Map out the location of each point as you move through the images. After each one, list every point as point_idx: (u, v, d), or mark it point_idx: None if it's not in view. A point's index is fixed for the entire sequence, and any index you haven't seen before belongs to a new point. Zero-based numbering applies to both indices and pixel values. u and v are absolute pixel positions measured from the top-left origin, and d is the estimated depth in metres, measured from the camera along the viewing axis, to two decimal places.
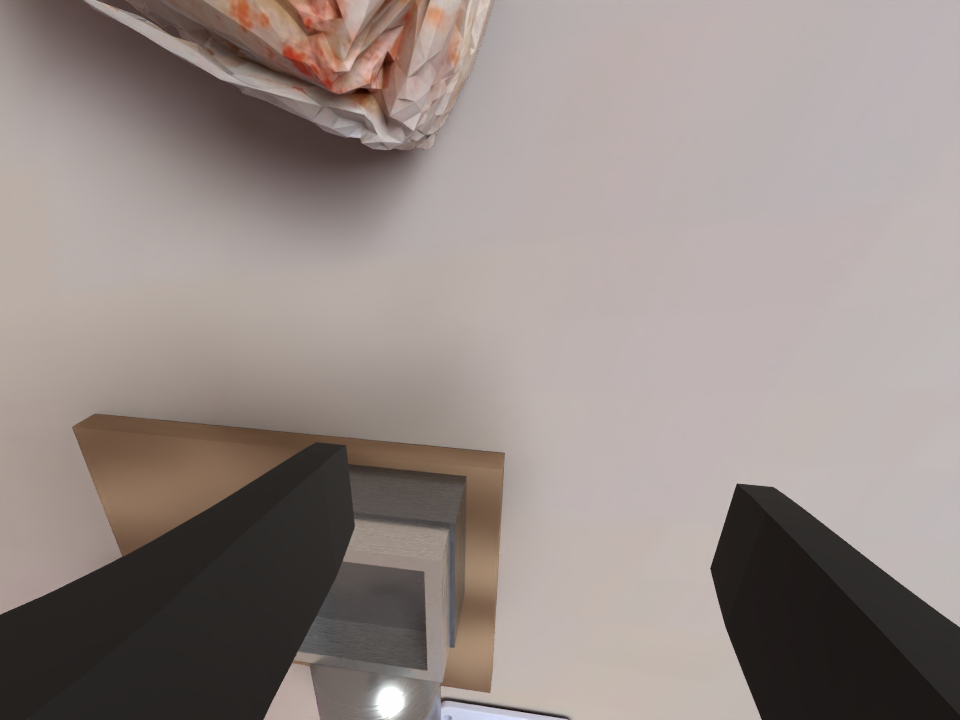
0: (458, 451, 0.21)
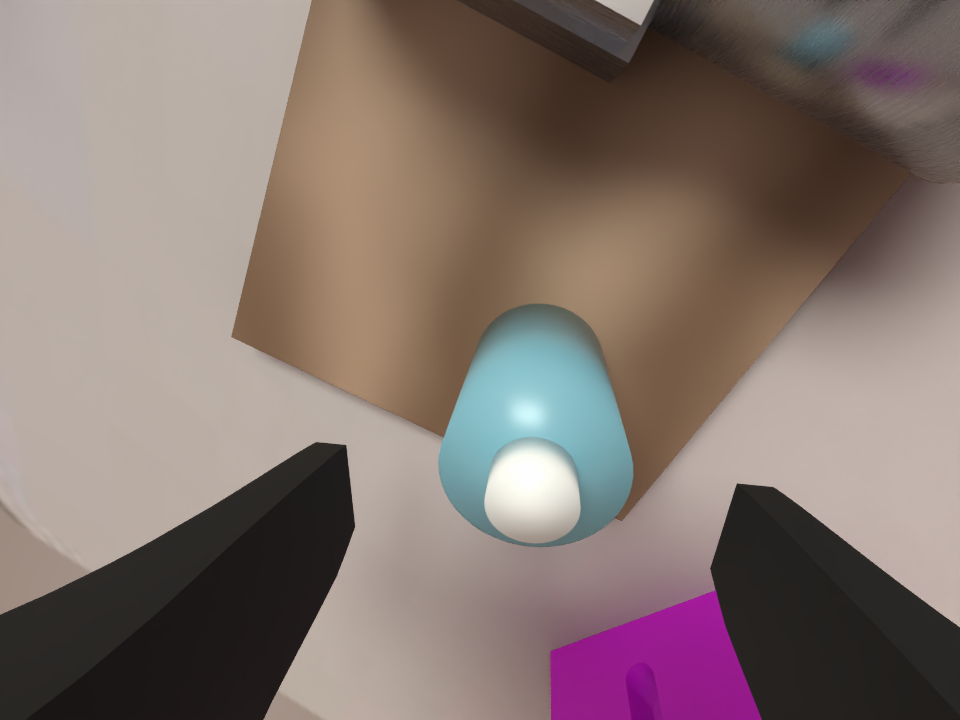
0: None
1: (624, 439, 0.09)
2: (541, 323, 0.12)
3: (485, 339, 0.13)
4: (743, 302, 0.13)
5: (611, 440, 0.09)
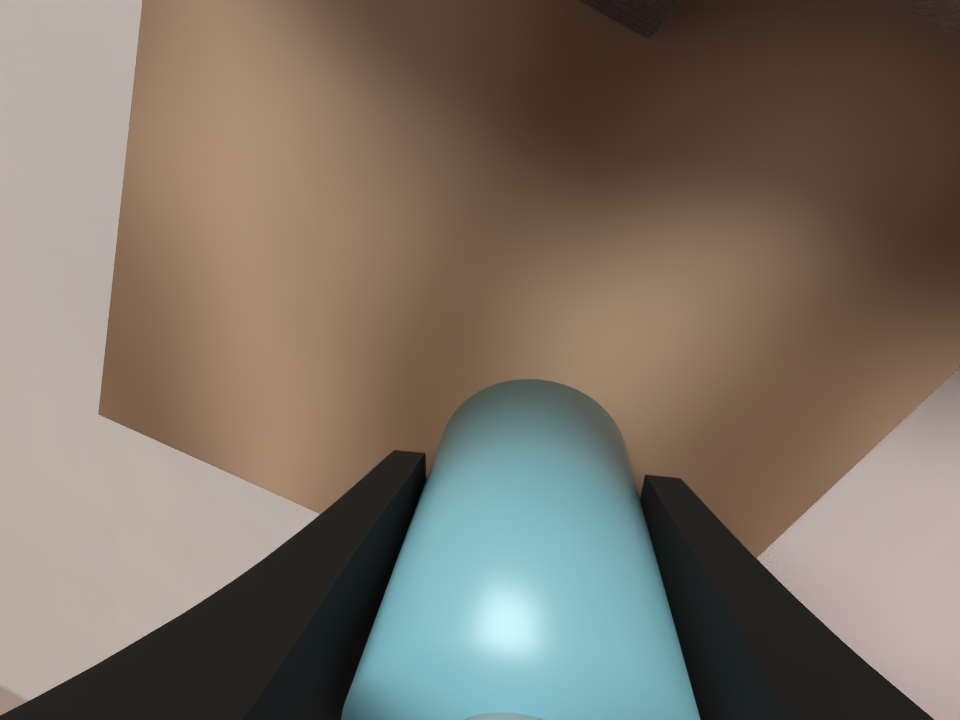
0: None
1: None
2: (535, 426, 0.08)
3: (449, 441, 0.08)
4: (844, 383, 0.09)
5: None
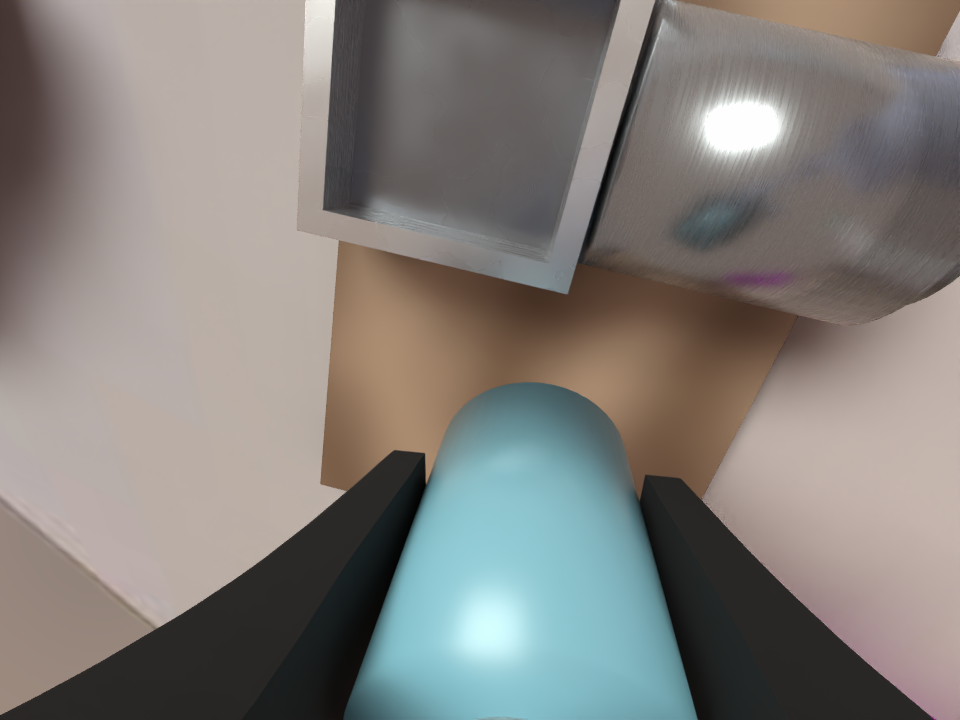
0: None
1: None
2: (532, 429, 0.08)
3: (448, 446, 0.08)
4: (713, 391, 0.16)
5: None
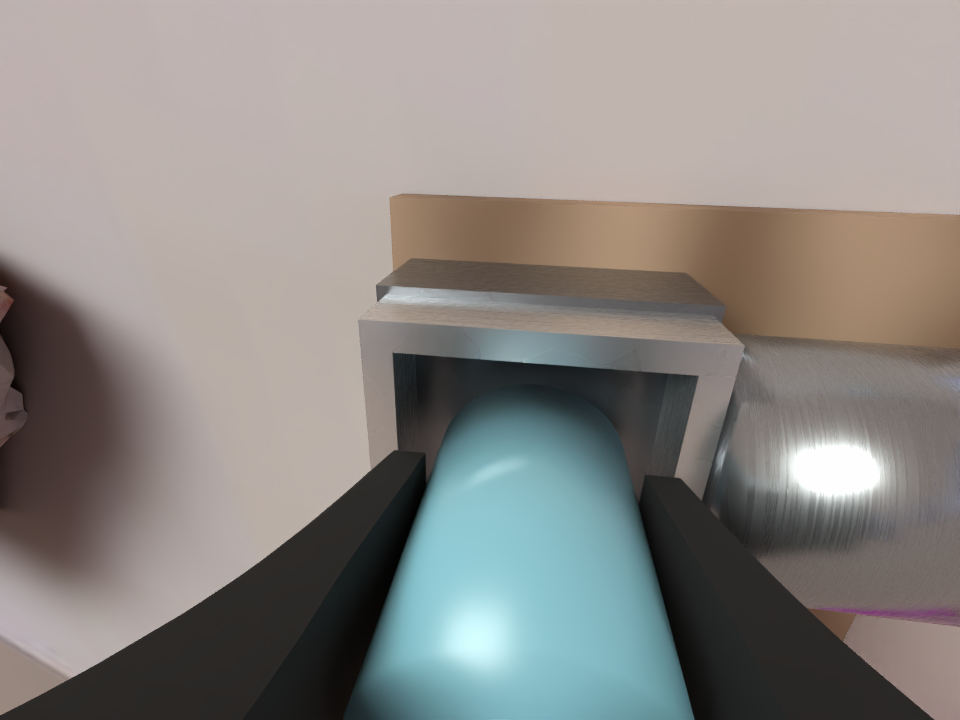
0: None
1: None
2: (528, 431, 0.08)
3: (445, 450, 0.09)
4: None
5: None
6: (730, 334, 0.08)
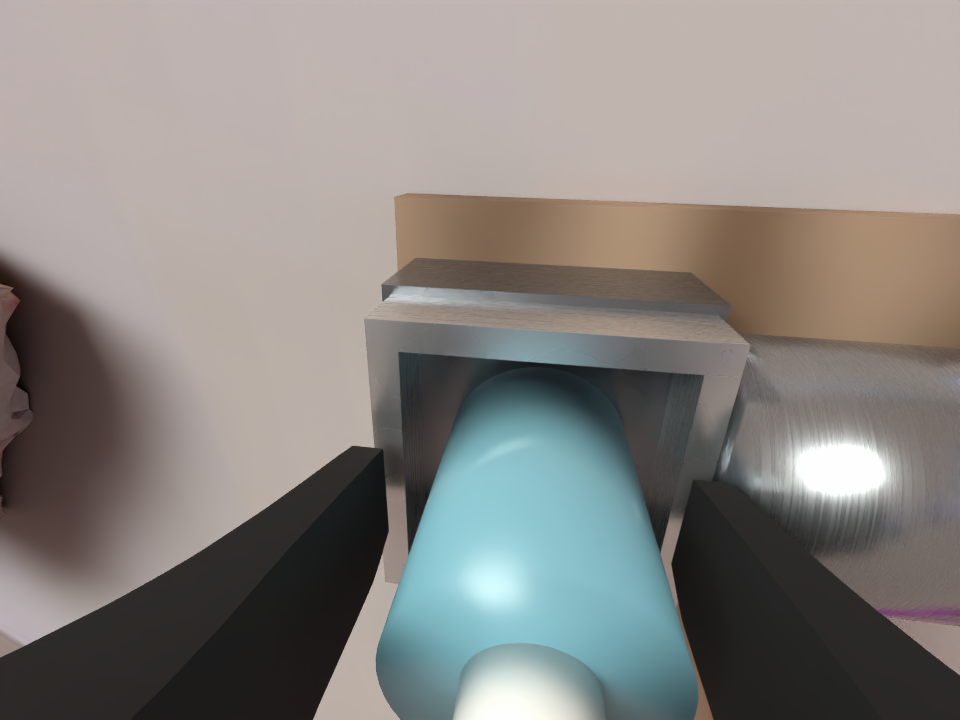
0: None
1: (683, 651, 0.05)
2: (537, 407, 0.08)
3: (459, 426, 0.09)
4: None
5: (659, 652, 0.05)
6: (736, 334, 0.08)
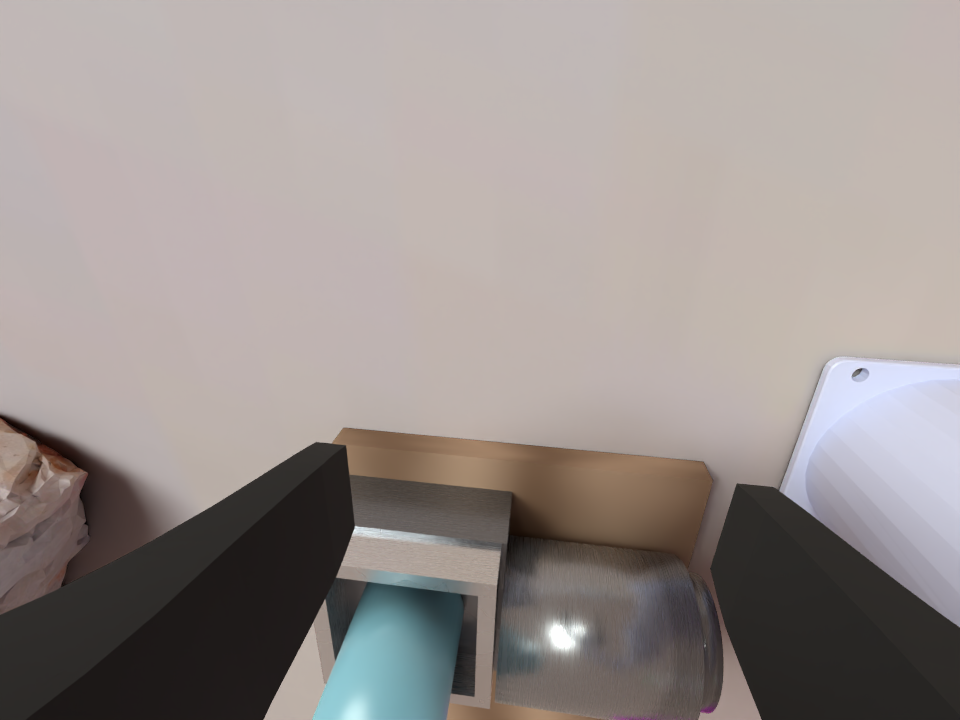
0: None
1: None
2: (396, 607, 0.16)
3: (359, 608, 0.17)
4: None
5: None
6: (497, 572, 0.16)
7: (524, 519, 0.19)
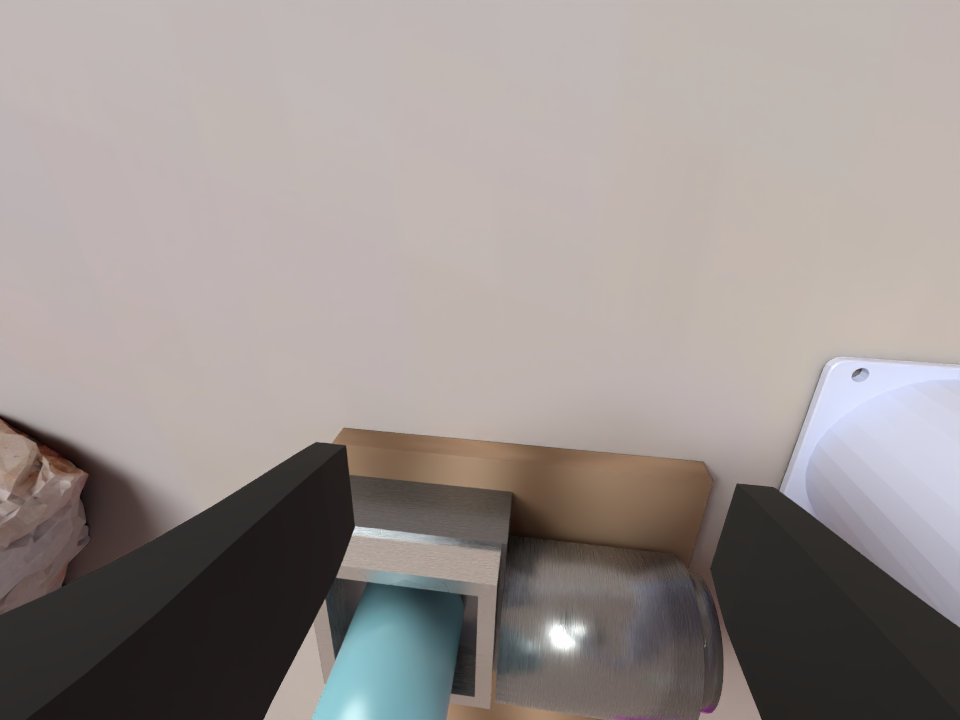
0: None
1: None
2: (398, 606, 0.16)
3: (360, 607, 0.17)
4: None
5: None
6: (497, 572, 0.16)
7: (524, 519, 0.19)
